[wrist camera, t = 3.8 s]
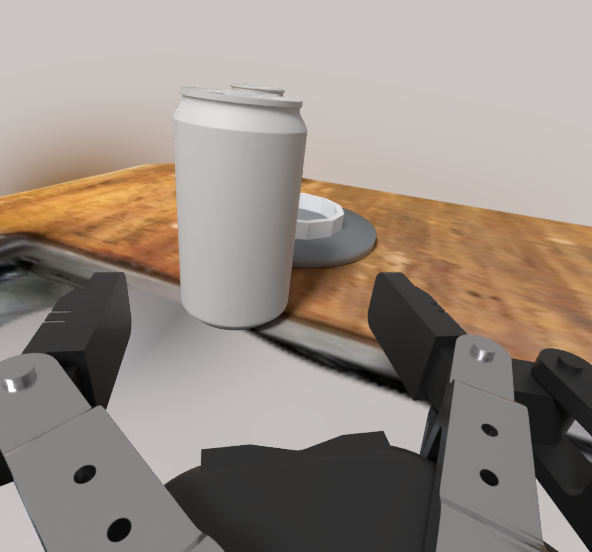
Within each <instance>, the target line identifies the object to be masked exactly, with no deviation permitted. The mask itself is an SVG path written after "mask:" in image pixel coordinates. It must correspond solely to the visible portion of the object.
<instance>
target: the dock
mask: <svg viewBox="0 0 592 552" xmlns="http://www.w3.org/2000/svg"><path fill="white" fill-rule="evenodd" d="M375 239H376V230H375V228H374V227H373V225H372V224H371V223H370V222H369V221H368V220H366V219H365V218H363V217H362V216H360V215H358V214H356V213H354V212H352V211H350V210H347V209H344V208H342V207H341V206H340V205H338V204H336V203H334V202H332V201H330V200H328V199H326V198H322V197H318V196H314V195H310V194H306V193H300V199H299V208H298V217H297V226H296V234H295V243H294V252H293V261H292V267H300V268H321V267H333V266H340V265H345V264H349V263H352V262H355V261H358V260H360V259H362V258H364V257H366V256H367V255H368V254H370V253H371V251H372V250H373V247H374V244H375Z"/></svg>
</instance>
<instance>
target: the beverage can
mask: <svg viewBox="0 0 592 552" xmlns="http://www.w3.org/2000/svg"><path fill="white" fill-rule="evenodd" d="M180 93H181V94H182V96H183V100H182V102H181V104H180V106H179V107H178V109H177V110H176V112H175V114H174V115H173V131H174V152H175V174H176V196H177V217H178V238H179V259H180V280H181V299H182V303H183V306H184V308H185V309H186V311H187V312H189V314H191V315H192V316H193V317H195V318H196V319H198V320H200V321H202V322H203V323H205V324H207V325H210V326H212V327H215V328H219V329H225V330H245V329H251V328H255V327H258V326H261V325H263V324H265V323H267V322H269V321H271V320H273V319H275V318H276V317H278V316H279V315H280V314H281V313H282V312H283V311H284V310H285V308H286V306H287V303H288V296H289V287H290V279H291V270H292V261H293V252H294V243H295V234H296V226H297V217H298V208H299V199H300V190H301V182H302V173H303V163H304V154H305V145H306V137H307V128H306V126H305V123H304V122H303V119H302V117H301V115H300V108H301V107H302V102H303V101H301V100H296V99H291V98H285V97H278V96H280V95H277V94H255V93H247V92H238V91H229V90H219V89H208V88H196V87H180Z"/></svg>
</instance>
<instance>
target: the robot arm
mask: <svg viewBox="0 0 592 552" xmlns="http://www.w3.org/2000/svg"><path fill="white" fill-rule="evenodd" d="M368 323H369V327H370V329H371V331H372V333H373V334H374V336H375V337H376V339H377V341H378V342H379V344H380V346H381V347H382V349H383V351H384V352H385V354H386V356H387V357H388V359H389V361H390V362H391V364H392V366H393V367H394V369H395V371H396V372H397V374H398V376H399V377H400V379H401V381H402V382H403V384H404V386H405V387H406V389H407V391H408V392H409V394H410V396H411V397H412V399H413V401H415V400H427V399H430V401H431V402H432V404H431V407H430V410H429V413H428V417H427V422H426V427H425V432H424V437H423V441H422V446H421V451H420V455H419V454H417V453H415V452H412V451H409V450H406V449H402V448H399V447H395V446H390V444H389V442H388V440H387V438H386V436H385V434H384V431H378V432H368V433H358V434H349V435H342V436H339V437H336V438H333V439H331V440H328V441H325V442H323V443H320V444H317V445H315V446H312V447H309V448H307V449H304V450H299V451H297V450H288V449H281V448H273V447H264V446H258V445H240V446H231V447H221V448H211V449H202V450H201V466H198V467H195V468H193V469H190V470H188V471H186V472H184V473H182V474H180V475H179V476H177V477H175V478H174V479H172V480H170V481H169V482H168V483H166V484H165V485H163V484H162V483H161V481H160V480H159V479H158V477H157V476H156V475H155V474H154V472H152V470H151V468H150V467H149V466H148V465H147V463H146V462H145V461H144V459H143V458H142V457H141V455H140V454H139V453H138V452H137V450H136V449H135V448H134V446H133V445H132V444H131V442H130V441H129V440H128V439H127V437H126V436H125V435H124V433H123V432H122V431H121V430H120V428H119V427H118V426H117V425H116V423H115V422H114V421H113V419H112V418H111V417H110V415H109V414H108V413H107V411H106V408H107V405H108V402H109V399H110V396H111V393H112V390H113V387H114V384H115V381H116V378H117V375H118V372H119V369H120V365H121V362H122V359H123V356H124V353H125V350H126V347H127V344H128V341H129V338H130V334H131V312H130V304H129V297H128V290H127V283H126V277H125V274H124V273H123V272H95V273H94V274H93V275H92V277H91V279H90V280H89V282H88V284H87V285H86V287H85V289H74V290H72V291H71V292H69V293H68V294H66V295H65V296H63V297H62V298H60V299H59V300H58V302H57V303H56V305H55V306H54V307H53V309H52V310H51V313H49V315H48V316H47V318H46V319H45V323H42V325H41V326H40V328H39V329H38V331H37V332H36V333H35V335H34V336H33V338H32V339H31V341H30V342H29V344H28V345H27V347H26V348H25V349H24V351H23V352H22V354H21V355H18V356H14V357H11V358H8V359H6V360H3V361H1V362H0V486H2V485H5V484H8V483H10V482H13V481H14V484H15V486H16V488H17V490H18V492H19V495H20V497H21V499H22V501H23V504H24V506H25V508H26V510H27V512H28V515H29V517H30V519H31V521H32V524H33V526H34V528H35V530H36V533H37V535H38V537H39V539H40V541H41V544H42V546H43V548H44V550H45V552H558V551H557V550H555V549H554V548H553V547H551V546H550V545H548V544H547V543H546V542H544V541H543V539H542V532H541V523H540V514H539V505H538V496H537V488H536V479H535V477H536V478H537V480H538V481H539V483H540V484H541V485H542V487H543V488H544V489H545V491H546V492H547V494H548V495H549V496H550V498H551V499H552V500H553V502H554V503H555V504H556V506H557V507H558V509H559V510H560V511H561V513H562V514H563V515H564V517H565V518H566V520H567V521H568V522H569V524H570V525H571V526H572V528H573V529H574V530H575V532H576V533H577V534H578V536H579V537H580V539H581V540H582V541H583V543H584V544H585V546H586V547H587V548H588V550H589V551H590V552H592V464H591V463H590V462H589V461H588V460H587V458H586V457H585V456H584V455H583V454H582V453H581V452H580V451H579V450H578V448H577V447H576V446H575V445H574V444H573V443H572V442H571V441H570V440H569V438H568V437H567V436H566V435H565V434H566V433H567V431H568V430H569V428H570V427H571V425H572V424H573V422H574V421H575V420H576V421H577V422H578V423H579V424H580V425H581V426H582V427H583V428H584V429H585V430H586V431H587V432H588V433H589V434H590V435H591V436H592V365H591V364H590V363H588V362H587V361H585V360H584V359H582V358H580V357H578V356H576V355H574V354H572V353H569V352H566V351H563V350H559V349H552V348H549V349H543V350H542V351H541V352H540V353H539V355H538V357H537V359H536V361H535V362H529V361H524V360H518V359H512V358H511V357H510V355H509V353H508V352H507V351H506V350H505V349H504V348H503V347H502V346H500V345H499V344H497V343H496V342H494V341H492V340H490V339H488V338H485V337H482V336H478V335H468V334H467V333H466V332H465V331H464V330H463V329H462V328H461V327H460V326H459V325H458V324H457V323H456V322H455V321H454V320H453V319H452V318H451V317H450V316H449V314H448V313H445V310H444V309H443V308H442V307H441V306H440V305H438V303H437V302H436V301H435V300H434V299H433V298H432V297H431V296H430V295H429V294H428V293H426V292H425V291H423V290H421V289H420V288H418V287H416V286H414V285H413V284H412V283H411V282H410V281H409V279H408V278H407V277H406V276H405V275H404V274H403V273H400V272H381V273H379V274H378V275H377V277H376V279H375V284H374V288H373V292H372V296H371V301H370V305H369V309H368Z"/></svg>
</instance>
